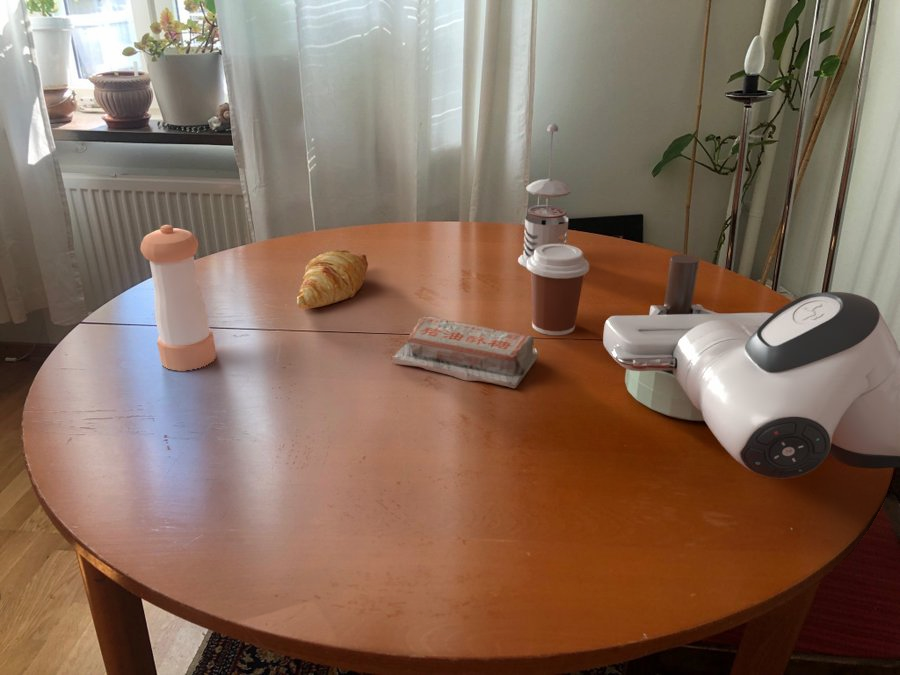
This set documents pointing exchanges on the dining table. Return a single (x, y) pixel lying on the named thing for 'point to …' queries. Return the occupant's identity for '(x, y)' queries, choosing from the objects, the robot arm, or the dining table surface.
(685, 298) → the brown tall cylinder
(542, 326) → the coffee cup
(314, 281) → the croissant
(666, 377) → the bowl
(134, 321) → the dining table surface
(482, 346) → the packaged product
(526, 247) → the french press
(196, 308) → the pepper shaker
